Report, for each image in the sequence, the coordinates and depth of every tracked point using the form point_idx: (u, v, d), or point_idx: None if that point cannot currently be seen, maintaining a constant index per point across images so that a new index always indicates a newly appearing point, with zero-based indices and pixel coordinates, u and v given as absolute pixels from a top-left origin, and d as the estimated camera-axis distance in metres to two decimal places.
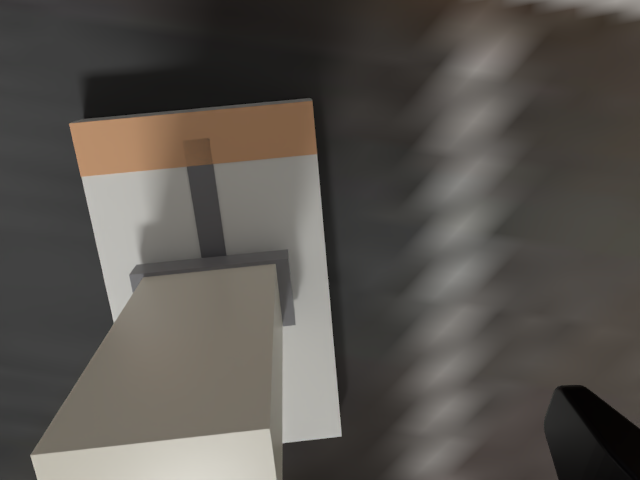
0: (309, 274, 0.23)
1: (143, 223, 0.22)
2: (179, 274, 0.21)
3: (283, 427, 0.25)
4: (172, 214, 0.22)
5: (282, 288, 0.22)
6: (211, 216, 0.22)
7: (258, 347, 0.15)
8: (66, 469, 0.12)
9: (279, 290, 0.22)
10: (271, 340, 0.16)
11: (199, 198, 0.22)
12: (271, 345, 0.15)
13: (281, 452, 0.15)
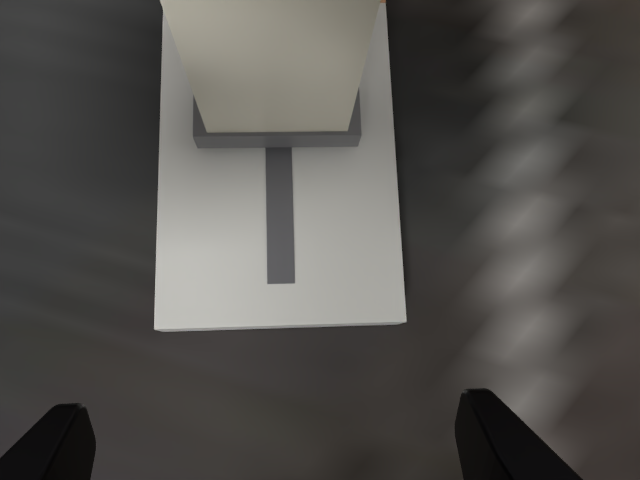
0: (374, 114, 0.22)
1: None
2: None
3: (334, 300, 0.20)
4: None
5: None
6: None
7: None
8: None
9: None
10: None
11: None
12: None
13: None
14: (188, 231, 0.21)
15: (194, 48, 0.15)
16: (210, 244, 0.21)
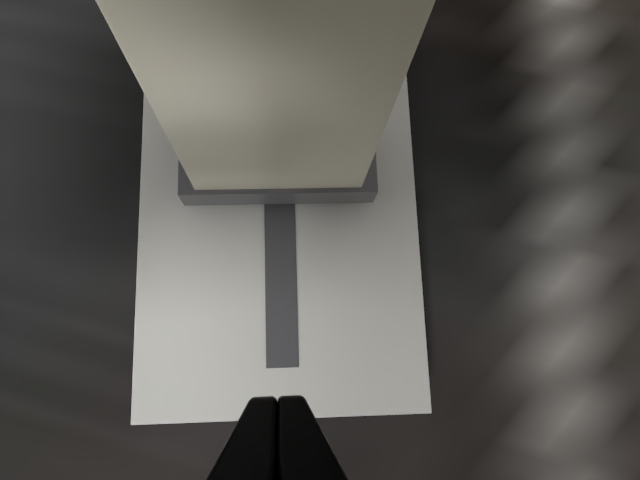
0: (391, 163, 0.19)
1: None
2: None
3: (345, 387, 0.17)
4: None
5: None
6: None
7: None
8: None
9: None
10: None
11: None
12: None
13: None
14: (173, 304, 0.17)
15: (173, 106, 0.12)
16: (198, 320, 0.17)
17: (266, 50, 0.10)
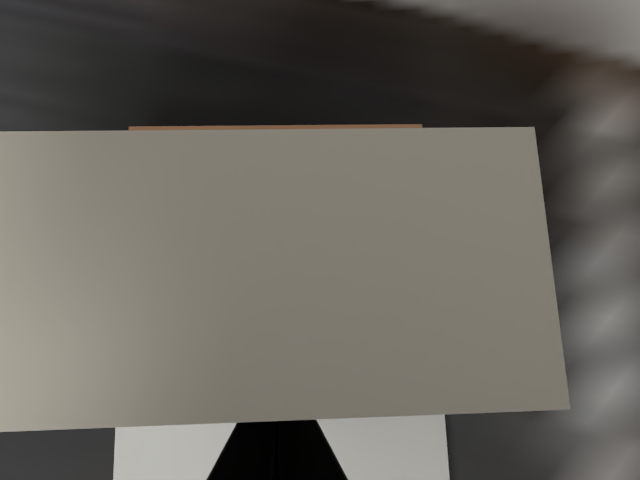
0: None
1: None
2: None
3: None
4: None
5: None
6: None
7: None
8: (45, 180, 0.05)
9: None
10: None
11: None
12: None
13: None
14: None
15: None
16: None
17: None
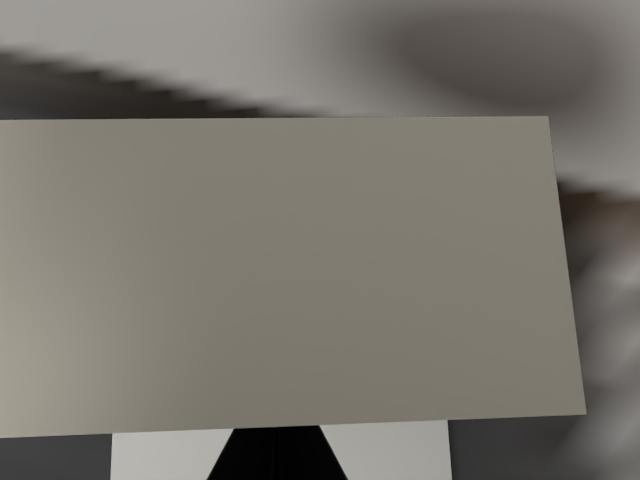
0: None
1: (186, 453, 0.15)
2: None
3: None
4: None
5: None
6: None
7: None
8: (31, 172, 0.05)
9: None
10: None
11: None
12: None
13: None
14: None
15: None
16: None
17: None
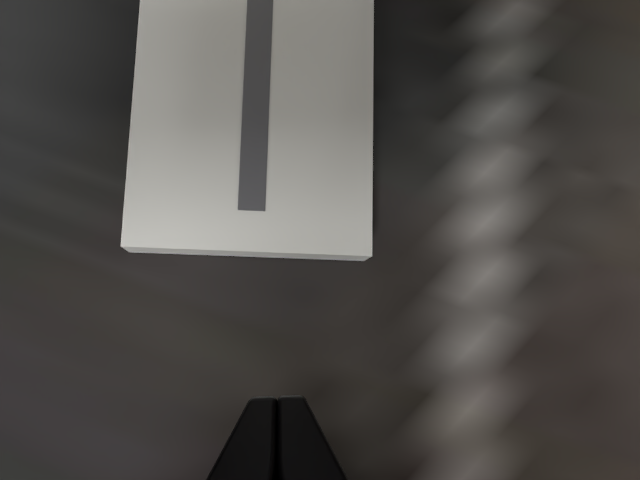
0: (354, 51, 0.22)
1: None
2: None
3: (303, 230, 0.21)
4: None
5: None
6: None
7: None
8: None
9: None
10: None
11: None
12: None
13: None
14: (160, 151, 0.20)
15: None
16: (182, 166, 0.20)
17: None
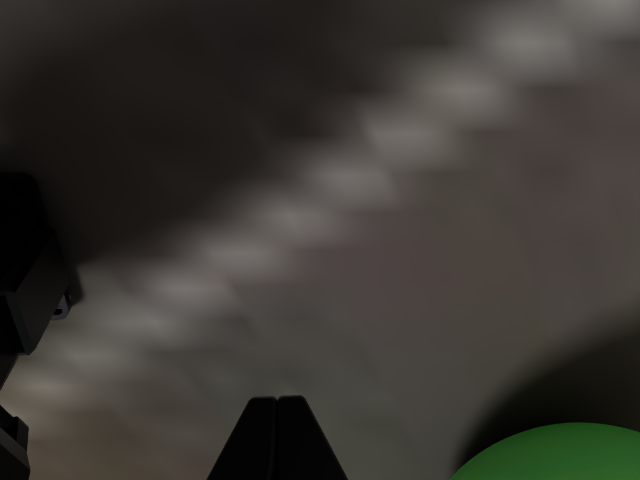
0: None
1: None
2: None
3: None
4: None
5: None
6: None
7: None
8: None
9: None
10: None
11: None
12: None
13: None
14: None
15: None
16: None
17: None
